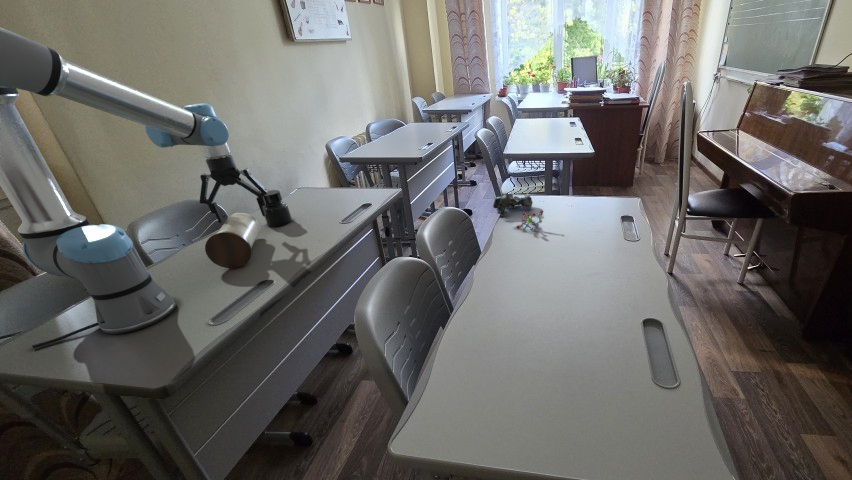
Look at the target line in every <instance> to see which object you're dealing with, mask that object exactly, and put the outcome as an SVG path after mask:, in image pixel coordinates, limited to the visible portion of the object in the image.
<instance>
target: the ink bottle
mask: <svg viewBox="0 0 852 480" xmlns="http://www.w3.org/2000/svg"><path fill="white" fill-rule="evenodd" d="M267 191H268V193H267V194H266V195H264V196H263V197H264V199H265V202H266V205H265V206H264V208H265V211H266V216H263V218H264V220H265V223H266V225H267V226H268V227H281V226H284V225H287V224H289V223H291V222H292V220H293V217H292V215H291V212H290V209H289V206H288V204H287V203H286V202H284V201H283V197H282V195H281V191H280V190H278V189H272V190H270V189H269V190H267Z"/></svg>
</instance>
